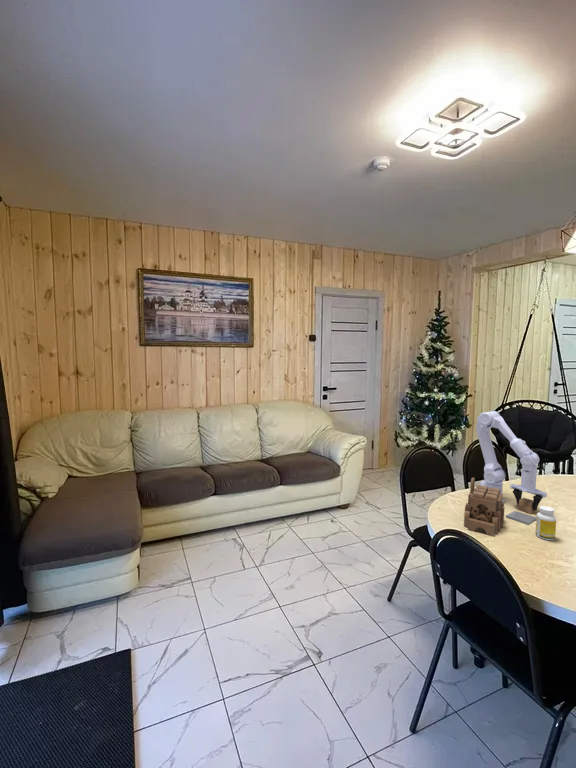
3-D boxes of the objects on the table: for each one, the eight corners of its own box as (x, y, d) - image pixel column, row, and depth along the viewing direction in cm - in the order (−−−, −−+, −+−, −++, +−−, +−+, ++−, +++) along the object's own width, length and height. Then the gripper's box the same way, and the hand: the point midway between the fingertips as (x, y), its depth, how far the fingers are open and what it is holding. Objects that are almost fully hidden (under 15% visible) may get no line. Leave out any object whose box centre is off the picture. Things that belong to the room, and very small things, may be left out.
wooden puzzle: (499, 537, 148) (502, 491, 147) (459, 527, 157) (461, 483, 155) (505, 518, 166) (508, 477, 165) (469, 510, 175) (471, 470, 173)
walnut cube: (518, 510, 175) (519, 500, 175) (523, 508, 178) (523, 497, 178) (530, 514, 171) (531, 503, 171) (534, 511, 174) (535, 501, 174)
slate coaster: (505, 517, 167) (505, 515, 167) (514, 512, 173) (514, 510, 173) (528, 524, 160) (528, 522, 160) (536, 519, 165) (536, 517, 165)
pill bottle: (558, 541, 146) (560, 512, 145) (539, 539, 147) (541, 511, 146) (550, 534, 152) (552, 505, 151) (532, 532, 153) (534, 504, 152)
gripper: (507, 476, 177) (506, 504, 178) (543, 485, 165) (541, 515, 166) (514, 473, 181) (512, 501, 182) (549, 482, 169) (547, 511, 170)
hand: (526, 507), depth 174 cm, fingers open, 6 cm apart
